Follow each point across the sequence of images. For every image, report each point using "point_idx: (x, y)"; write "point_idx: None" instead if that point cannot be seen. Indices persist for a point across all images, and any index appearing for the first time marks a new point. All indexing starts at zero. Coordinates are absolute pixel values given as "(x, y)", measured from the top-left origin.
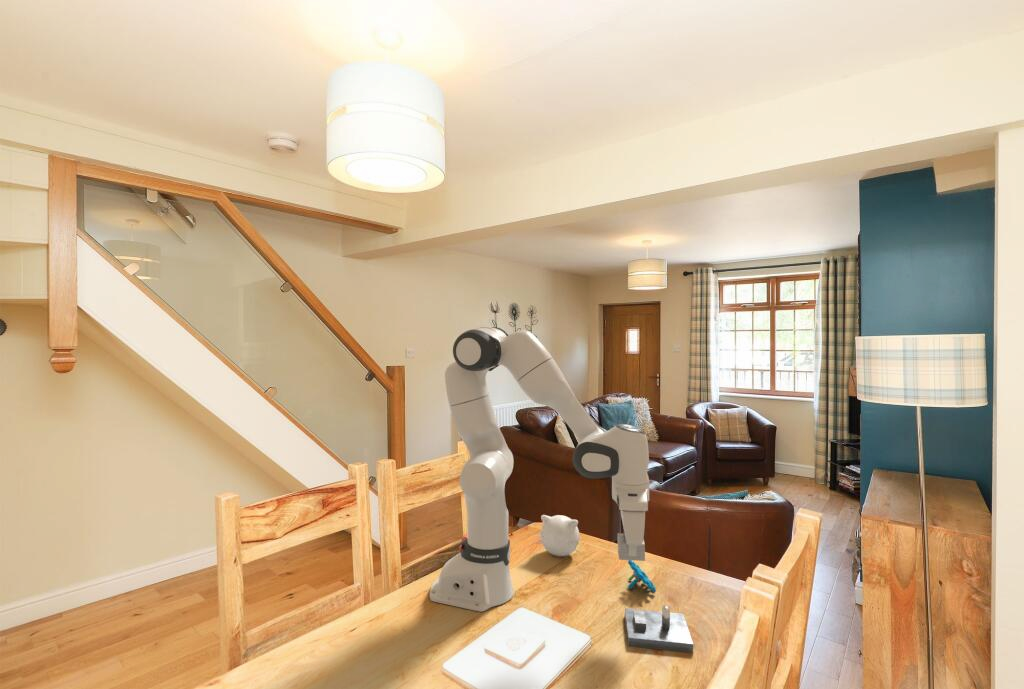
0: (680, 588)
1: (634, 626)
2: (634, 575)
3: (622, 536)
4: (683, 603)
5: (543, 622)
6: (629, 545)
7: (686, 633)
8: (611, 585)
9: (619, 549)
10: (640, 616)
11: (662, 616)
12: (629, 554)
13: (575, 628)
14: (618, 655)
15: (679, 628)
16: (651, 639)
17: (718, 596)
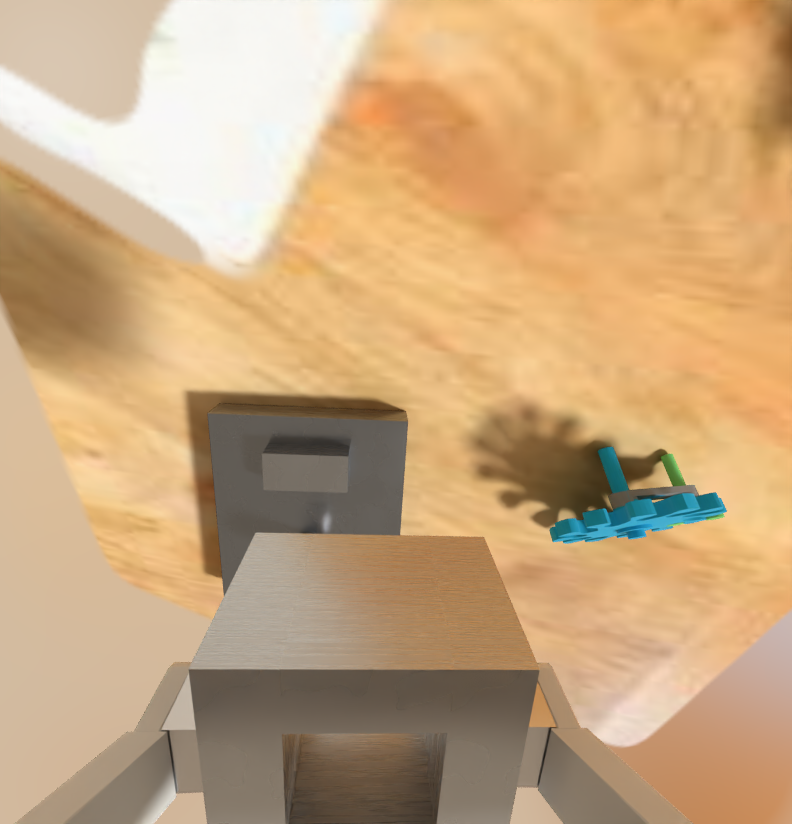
0: (597, 610)
1: (285, 442)
2: (650, 489)
3: (424, 716)
4: None
5: (311, 31)
6: (60, 796)
7: None
8: (633, 382)
9: (222, 606)
10: (311, 476)
11: None
12: (168, 671)
13: (291, 201)
14: (157, 363)
15: None
16: (215, 488)
17: None
